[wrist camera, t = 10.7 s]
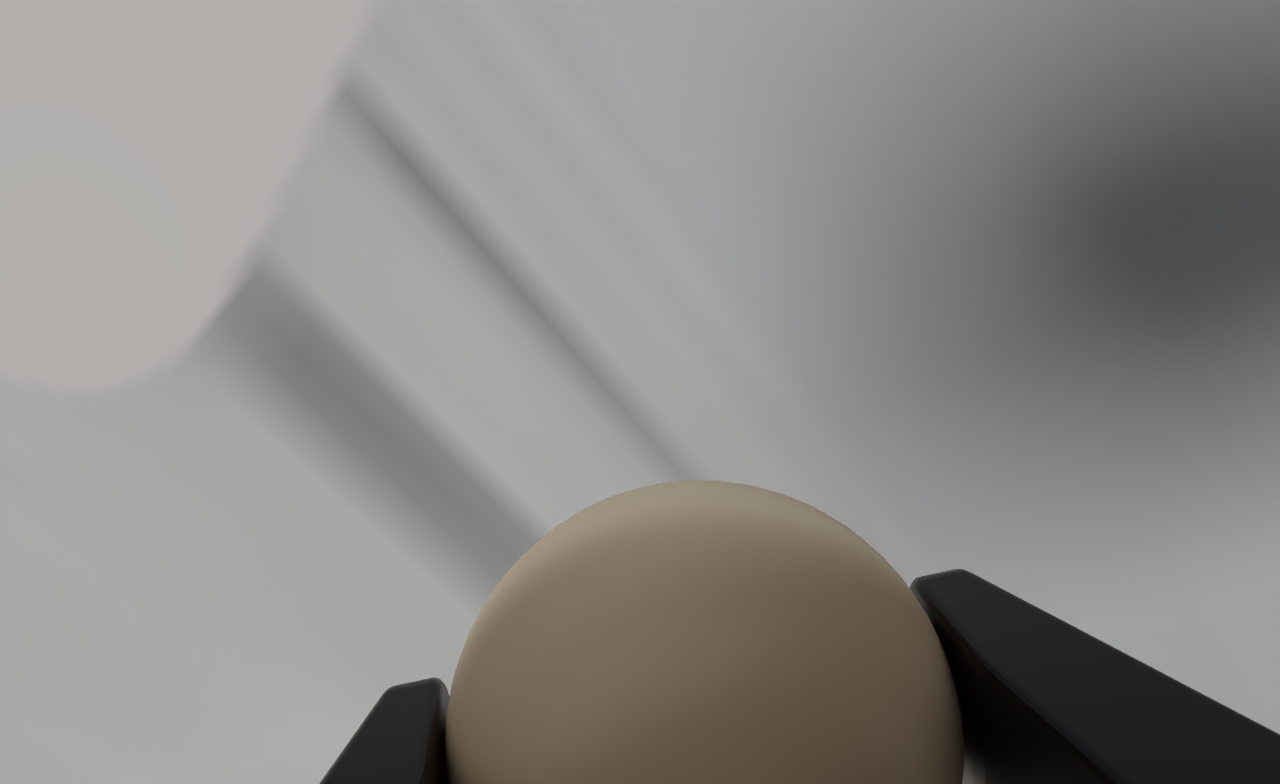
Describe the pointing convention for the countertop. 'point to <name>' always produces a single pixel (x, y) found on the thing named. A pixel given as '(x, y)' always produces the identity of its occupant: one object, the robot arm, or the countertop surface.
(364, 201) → the countertop surface
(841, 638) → the maple bead
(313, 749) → the countertop surface
